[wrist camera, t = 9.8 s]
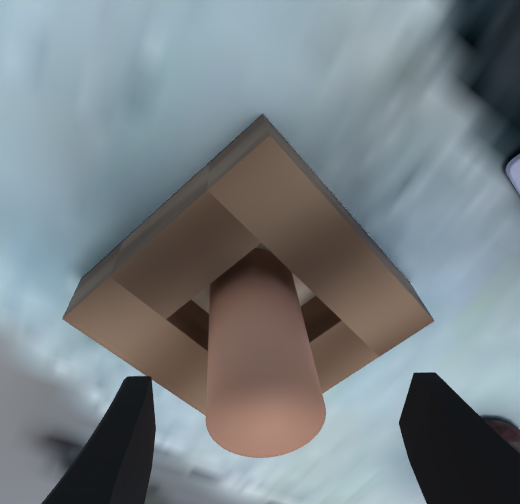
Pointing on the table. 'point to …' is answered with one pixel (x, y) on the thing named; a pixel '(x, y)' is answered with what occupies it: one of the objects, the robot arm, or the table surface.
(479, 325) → the table surface
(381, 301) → the socket block
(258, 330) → the peg
